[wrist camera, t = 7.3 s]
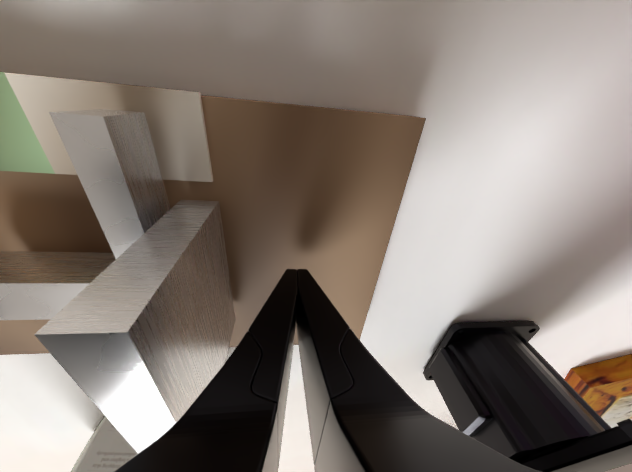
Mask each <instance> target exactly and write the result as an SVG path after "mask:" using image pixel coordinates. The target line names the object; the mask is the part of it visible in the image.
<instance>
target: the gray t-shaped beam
mask: <svg viewBox="0 0 632 472" xmlns="http://www.w3.org/2000/svg"><path fill="white" fill-rule="evenodd" d="M49 114H50V116H51V118H52V120H53V122H54V124H55V127H56V129H57V131H58V133H59V135H60V138H61V140H62V142H63V144H64V146H65V149H66V151H67V153H68V155H69V157H70V160H71V162H72V164H73V166H74V168H75V171H76V173H77V175H78V177H79V179H80V181H81V184H82V186H83V188H84V190H85V192H86V195H87V197H88V199H89V201H90V203H91V206H92V208H93V210H94V212H95V214H96V217H97V219H98V221H99V223H100V225H101V228H102V230H103V232H104V234H105V236H106V238H107V241H108V243H109V245H110V247H111V249H112V252H113V253H94V252H28V251H0V320H46V319H51V320H50V321H48V322H47V323H46V324H45V325H44V326H43V327H42V328H41V329H40V330H39V331H38V332H36V333H35V334H34V335H35V336H36V337H37V338H38V340H39V341H40V342H41V343H42V344H43V345H44V346H45V348H46V349H47V350H48V351H49V352H50V353H51V354H52V356H53V357H54V358H55V359H56V360H57V361H58V362H59V364H60V365H61V366H62V367H63V368H64V369H65V370H66V372H67V373H68V374H69V375H70V376H71V377H72V379H73V380H74V381H75V382H76V383H77V384H78V385H79V387H80V388H81V389H82V390H83V391H84V392H85V393H86V395H87V396H88V397H89V398H90V399H91V400H92V401H93V403H94V404H95V405H96V406H97V407H98V408H99V409H100V411H101V412H102V413H103V414H104V415H105V416H106V417H107V419H108V420H109V421H110V422H111V423H112V424H113V425H114V427H115V428H116V429H117V430H118V431H119V432H120V433H121V435H122V436H123V437H124V438H125V439H126V440H127V441H128V443H129V444H130V445H131V446H132V447H133V448H134V450H135V451H136V452H137V453H140V452H141V451H143V450H144V449H145V448H147V447H148V446H149V445H151V444H152V443H153V442H155V441H156V440H157V439H159V438H160V437H161V436H162V435H164V434H165V433H166V432H167V431H168V430H169V429H170V428H171V427H172V426H173V425H174V424H175V423H176V422H177V421H178V420H179V419H180V418H181V417H182V416H183V415H184V413H185V412H186V411H187V410H188V409H189V407H190V406H191V405H192V404H193V402H194V401H195V400H196V399H197V398H198V396H199V395H200V394H201V393H202V391H203V390H204V389H205V388H206V386H207V385H208V384H209V383H210V381H211V380H212V379H213V378H214V376H215V375H216V374H217V373H218V371H219V370H220V369H221V368H222V366H223V365H224V364H225V361H226V357H227V353H228V349H229V345H230V341H231V337H232V333H233V329H234V325H235V321H236V318H235V311H234V304H233V297H232V290H231V283H230V276H229V269H228V262H227V255H226V248H225V241H224V234H223V227H222V220H221V213H220V206H219V201H199V200H180V201H179V202H178V203H177V204H176V205H174V206H173V207H172V208H171V209H170V206H169V202H168V198H167V194H166V191H165V187H164V183H163V179H162V176H161V172H160V168H159V164H158V160H157V157H156V153H155V149H154V145H153V142H152V138H151V134H150V130H149V126H148V123H147V119H146V115H145V113H144V112H133V111H122V110H110V109H94V110H77V111H59V112H49Z"/></svg>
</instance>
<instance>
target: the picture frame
mask: <svg viewBox="0 0 632 472" xmlns="http://www.w3.org/2000/svg"><path fill="white" fill-rule="evenodd" d="M564 380H565V381H566V382H567V383H568V384H569V385H570V386H571V387H572V388H573V389H574V390H575V391H576V392H577V393H578V394H579V395H580V396H581V397H582V398H583V399H584V400H585V401H586V402H587V403H588V404H589V405H590V406H591V407H592V408H593V410H594V411H595V412H596V413H597V414H598V415H599V416H600V417H601V418H602V419H603V420H604V421H605V422H606V423H607V424H608V425H609V426H610V427H611V428H613V427H616V426H618V425H617V423H618V422H621V421H623V420H626V419H631V420H632V354H630V355H625V356H621V357H617V358H613V359H609V360H605V361H601V362H596V363H592V364H588V365H584V366H580V367H576V368H572V369H570V371H569V373H568V374H567V376H566V378H565V379H564Z"/></svg>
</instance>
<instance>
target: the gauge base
mask: <svg viewBox="0 0 632 472" xmlns="http://www.w3.org/2000/svg"><path fill="white" fill-rule="evenodd" d="M94 109H110V110H122V111H133V112H144V113H145V115H146V119H147V123H148V126H149V130H150V134H151V138H152V142H153V145H154V149H155V153H156V157H157V160H158V164H159V168H160V172H161V176H162V179H163V183H164V187H165V191H166V194H167V198H168V202H169V206H170V209H171V208H172V207H173V206H174V205H176V204H177V203H178V202H179V201H180V200H199V201H219V206H220V213H221V220H222V227H223V234H224V241H225V248H226V255H227V262H228V269H229V276H230V283H231V290H232V297H233V304H234V311H235V318H236V321H235V325H234V329H233V333H232V337H231V341H230V345H229V347H237V346H238V344H239V343H240V341H241V340H242V338H243V337H244V335H245V334H246V332H247V331H248V329H249V327H250V326H251V324H252V323H253V321H254V320H255V318H256V316H257V315H258V313H259V312H260V310H261V309H262V307H263V305H264V304H265V302H266V301H267V299H268V297H269V296H270V294H271V293H272V291H273V290H274V288H275V286H276V285H277V283H278V282H279V280H280V279H281V277H282V275H283V274H284V272H285V271H286V269H296V270H297V269H307V270H308V271H309V272H310V274H311V275H312V276H313V278H314V279H315V280H316V282H317V283H318V285H319V286H320V287H321V289H322V290H323V291H324V293H325V294H326V295H327V297H328V298H329V300H330V301H331V302H332V304H333V305H334V306H335V308H336V309H337V310H338V312H339V313H340V315H341V316H342V317H343V319H344V320H345V321H346V323H347V324H348V325H349V327H350V329H352V331H353V332H354V334H355V335H356V336H357V338H358V339H359V340H360V336H361V333H362V330H363V326H364V323H365V320H366V316H367V313H368V310H369V306H370V303H371V300H372V296H373V293H374V290H375V286H376V283H377V280H378V276H379V273H380V270H381V266H382V263H383V260H384V256H385V253H386V250H387V246H388V243H389V240H390V236H391V233H392V230H393V226H394V223H395V220H396V216H397V213H398V210H399V206H400V203H401V200H402V196H403V193H404V190H405V186H406V183H407V180H408V176H409V173H410V170H411V166H412V163H413V160H414V156H415V153H416V150H417V146H418V143H419V140H420V136H421V133H422V130H423V126H424V123H425V120H426V118H420V117H413V116H405V115H395V114H385V113H375V112H365V111H355V110H345V109H335V108H324V107H314V106H304V105H294V104H284V103H274V102H264V101H254V100H244V99H234V98H223V97H213V96H203V95H201V92H194V91H185V90H175V89H165V88H155V87H145V86H135V85H125V84H115V83H105V82H95V81H85V80H75V79H65V78H55V77H45V76H36V75H26V74H16V73H6V72H0V251H28V252H94V253H113V252H112V249H111V247H110V245H109V243H108V241H107V238H106V236H105V234H104V232H103V230H102V228H101V225H100V223H99V221H98V219H97V217H96V214H95V212H94V210H93V208H92V206H91V203H90V201H89V199H88V197H87V195H86V192H85V190H84V188H83V186H82V184H81V181H80V179H79V177H78V175H77V173H76V171H75V168H74V166H73V164H72V162H71V160H70V157H69V155H68V153H67V151H66V149H65V146H64V144H63V142H62V140H61V138H60V135H59V133H58V131H57V129H56V127H55V124H54V122H53V120H52V118H51V116H50V114H49V112H59V111H77V110H94ZM50 320H51V319H46V320H0V355H7V354H37V353H50V352H49V351H48V350H47V349H46V348H45V346H44V345H43V344H42V343H41V342H40V341H39V340H38V338H37V337H36V336H35V335H34V334H35V333H36V332H38V331H39V330H40V329H41V328H42V327H43V326H44V325H45V324H46V323H47V322H48V321H50ZM294 345H299V344H298V336H297V327H296V328H295V336H294Z"/></svg>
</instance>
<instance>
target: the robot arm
mask: <svg viewBox="0 0 632 472" xmlns="http://www.w3.org/2000/svg"><path fill="white" fill-rule="evenodd" d="M296 327H297V336H298V344H299V351H300V359H301V367H302V375H303V382H304V390H305V398H306V406H307V413H308V421H309V429H310V437H311V444H312V452H313V460H314V465H315V467H314V468H315V472H605V471H608V470H611V469H614V468H618V467H621V466H624V465H627V464H631V463H632V420H631V419H626V420H623V421H621V422H618V423H617V425H618V426H616V427H613V428H611V427H610V426H609V425H608V424H607V423H606V422H605V421H604V420H603V419H602V418H601V417H600V416H599V415H598V414H597V413H596V412H595V411H594V410H593V408H592V407H591V406H590V405H589V404H588V403H587V402H586V401H585V400H584V399H583V398H582V397H581V396H580V395H579V394H578V393H577V392H576V391H575V390H574V389H573V388H572V387H571V386H570V385H569V384H568V383H567V382H566V381H565V380H564V379H563V378H562V377H561V376H560V375H559V374H558V372H557V371H556V370H555V369H554V368H553V367H552V366H551V365H550V364H549V363H548V362H547V361H546V360H545V359H544V358H543V357H542V356H541V355H540V354H539V353H538V352H537V351H536V350H535V349H534V348H533V347H532V346H531V345H530V344H529V343H528V341H529V340H530V339H531V338H532V337H533V336H534V335H535V334H536V333H537V331H538V330H539V329H540V327H539V326H538V325H536V324H535V323H534V322H533V321H519V322H478V323H457V324H454V325H453V326H451V328H450V329H449V331H448V332H447V334H446V336H445V337H444V339H443V341H442V342H441V344H440V345H439V347H438V349H437V350H436V352H435V354H434V355H433V357H432V359H431V360H430V362H429V364H428V365H427V367H426V369H425V370H424V372H423V374H424V376H425V378H426V380H434V381H435V383H436V385H437V387H438V389H439V391H440V393H441V395H442V397H443V399H444V401H445V403H446V405H447V407H448V409H449V411H450V413H451V415H452V417H453V419H454V421H455V423H456V425H457V427H458V429H459V430H457V429H456V428H454V427H452V426H450V425H448V424H447V423H445V422H443V421H441V420H439V419H437V418H436V417H434V416H432V415H431V414H429V413H428V412H426V411H425V410H424V409H422V408H421V407H420V406H419V405H418V404H417V403H416V402H414V401H413V400H412V399H411V398H410V397H409V396H408V395H407V393H406V392H405V391H404V390H403V389H402V388H401V387H400V386H399V385H398V384H397V382H396V381H395V380H394V379H393V378H392V377H391V376H390V375H389V374H388V373H387V372H386V370H385V369H384V368H383V367H382V366H381V365H380V364H379V363H378V362H377V361H376V359H375V358H374V357H373V356H372V355H371V354H370V353H369V351H368V350H367V349H366V348H365V347H364V345H363V344H362V343H361V341H360V340H359V339H358V338H357V336H356V335H355V334H354V332H353V331H352V329H350V327H349V325H348V324H347V323H346V321H345V320H344V319H343V317H342V316H341V315H340V313H339V312H338V310H337V309H336V308H335V306H334V305H333V304H332V302H331V301H330V300H329V298H328V297H327V295H326V294H325V293H324V291H323V290H322V289H321V287H320V286H319V285H318V283H317V282H316V280H315V279H314V278H313V276H312V275H311V274H310V272H309V271H308V270H307V269H297V270H296V269H286V271H285V272H284V274H283V275H282V277H281V279H280V280H279V282H278V283H277V285H276V286H275V288H274V290H273V291H272V293H271V294H270V296H269V297H268V299H267V301H266V302H265V304H264V305H263V307H262V309H261V310H260V312H259V313H258V315H257V316H256V318H255V320H254V321H253V323H252V324H251V326H250V327H249V329H248V331H247V332H246V334H245V335H244V337H243V338H242V340H241V341H240V343H239V344H238V346H237V347H236V349H235V350H234V352H233V353H232V355H231V356H230V357H229V359H228V360H227V361H226V362H225V364H224V365H223V366H222V368H221V369H220V370H219V371H218V373H217V374H216V375H215V376H214V378H213V379H212V380H211V381H210V383H209V384H208V385H207V386H206V388H205V389H204V390H203V391H202V393H201V394H200V395H199V396H198V398H197V399H196V400H195V401H194V402H193V404H192V405H191V406H190V407H189V409H188V410H187V411H186V412H185V413H184V415H183V416H182V417H181V418H180V419H179V420H178V421H177V422H176V423H175V424H174V425H173V426H172V427H171V428H170V429H169V430H168V431H167V432H166V433H165V434H164V435H162V436H161V437H160V438H159V439H157V440H156V441H155V442H153V443H152V444H151V445H149V446H148V447H147V448H145V449H144V450H143V451H141V452H140V453H138V454H137V455H136V456H134V457H133V458H132V459H130V460H129V461H128V462H126V463H125V464H124V465H122V466H121V467H119V468H118V469H117V470H115V471H114V472H278V466H279V458H280V450H281V442H282V434H283V426H284V417H285V409H286V401H287V393H288V385H289V377H290V369H291V361H292V353H293V345H294V336H295V328H296Z"/></svg>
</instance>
